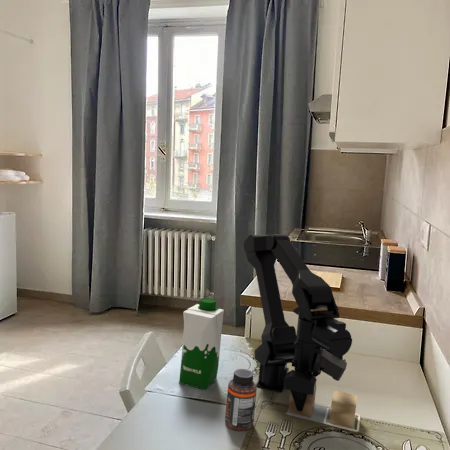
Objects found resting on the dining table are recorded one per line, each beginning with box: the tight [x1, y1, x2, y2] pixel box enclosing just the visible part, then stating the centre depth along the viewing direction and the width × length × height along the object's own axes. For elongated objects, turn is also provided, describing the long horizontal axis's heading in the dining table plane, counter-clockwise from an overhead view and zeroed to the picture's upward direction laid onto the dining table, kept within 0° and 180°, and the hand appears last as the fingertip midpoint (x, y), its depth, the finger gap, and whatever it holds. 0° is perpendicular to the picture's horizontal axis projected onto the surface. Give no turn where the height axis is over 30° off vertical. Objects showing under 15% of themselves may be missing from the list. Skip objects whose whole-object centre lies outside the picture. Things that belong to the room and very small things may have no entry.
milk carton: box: [178, 297, 225, 391], centre depth 112 cm, size 9×9×20 cm
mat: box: [285, 404, 357, 430], centre depth 101 cm, size 14×7×1 cm, turn 71°
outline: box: [322, 407, 361, 433], centre depth 100 cm, size 7×7×1 cm
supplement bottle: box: [224, 368, 258, 432], centre depth 94 cm, size 6×6×11 cm
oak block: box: [329, 390, 358, 428], centre depth 100 cm, size 5×5×5 cm
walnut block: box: [287, 387, 317, 418], centre depth 103 cm, size 5×5×5 cm
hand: (301, 405), depth 103 cm, fingers closed on walnut block, 5 cm apart
